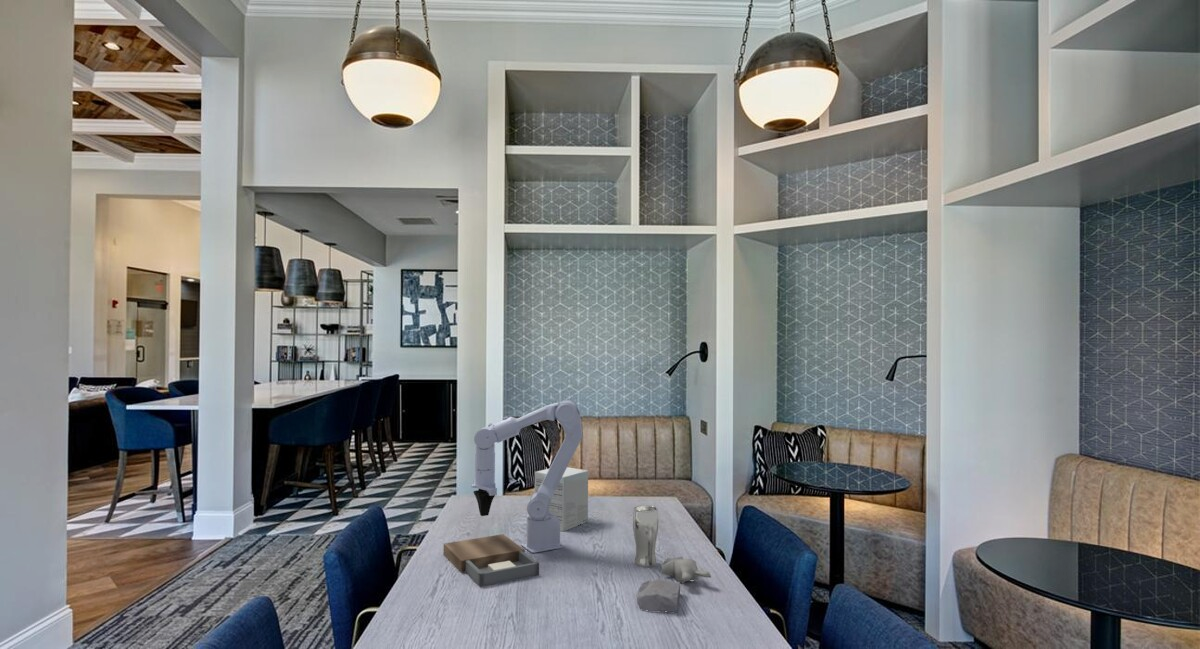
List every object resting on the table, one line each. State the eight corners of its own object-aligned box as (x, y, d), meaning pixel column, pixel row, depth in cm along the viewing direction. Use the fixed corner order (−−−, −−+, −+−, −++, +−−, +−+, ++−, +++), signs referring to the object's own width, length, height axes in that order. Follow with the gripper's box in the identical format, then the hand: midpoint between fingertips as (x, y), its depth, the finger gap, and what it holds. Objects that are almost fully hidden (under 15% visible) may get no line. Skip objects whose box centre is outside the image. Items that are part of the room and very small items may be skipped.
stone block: (637, 619, 138) (681, 614, 136) (633, 597, 138) (676, 592, 137) (642, 600, 149) (683, 594, 148) (638, 580, 150) (679, 574, 148)
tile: (518, 567, 157) (518, 575, 157) (509, 560, 162) (509, 568, 162) (495, 571, 154) (495, 580, 154) (487, 564, 159) (487, 572, 159)
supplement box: (558, 515, 214) (559, 465, 215) (588, 522, 207) (589, 470, 207) (533, 524, 203) (533, 471, 204) (563, 531, 196) (564, 476, 196)
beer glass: (661, 561, 170) (661, 506, 170) (652, 569, 163) (653, 512, 164) (638, 557, 172) (638, 503, 173) (628, 565, 166) (629, 509, 167)
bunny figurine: (686, 552, 166) (714, 564, 152) (687, 572, 165) (715, 585, 151) (654, 556, 162) (680, 568, 148) (655, 576, 162) (681, 590, 148)
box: (522, 561, 168) (522, 550, 168) (539, 574, 159) (539, 563, 159) (465, 572, 160) (465, 560, 160) (479, 586, 151) (479, 574, 151)
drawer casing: (503, 544, 183) (503, 534, 183) (524, 560, 169) (524, 549, 169) (443, 554, 174) (443, 543, 174) (461, 572, 160) (461, 560, 160)
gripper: (464, 465, 185) (463, 511, 184) (480, 474, 172) (479, 523, 172) (486, 463, 188) (485, 508, 188) (503, 472, 176) (503, 519, 175)
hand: (484, 515), depth 180 cm, fingers closed
